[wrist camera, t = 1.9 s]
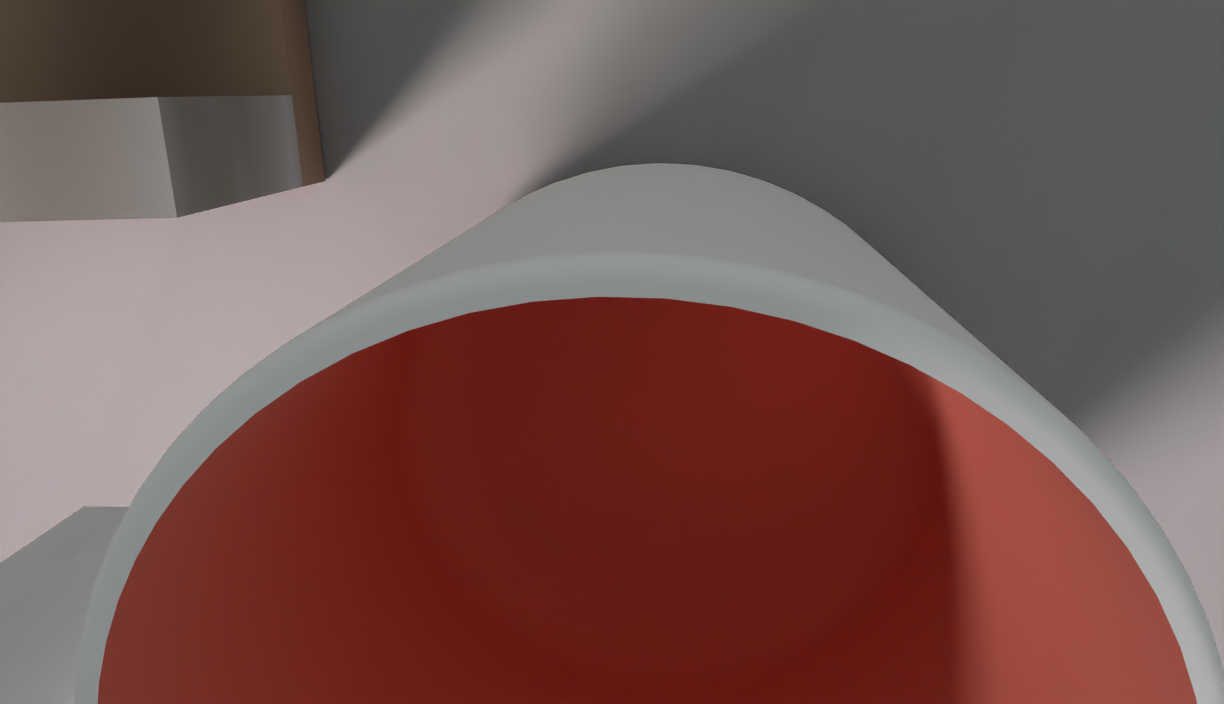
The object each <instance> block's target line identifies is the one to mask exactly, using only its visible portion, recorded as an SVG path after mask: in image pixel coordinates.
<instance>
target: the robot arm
mask: <svg viewBox="0 0 1224 704" xmlns="http://www.w3.org/2000/svg"><path fill="white" fill-rule="evenodd" d="M128 508H129V507H86V506H84V507H83V508H81V509H80V510H78V511H77V512H75V513H74V514H72V515H71V516H69V517H68V518H66V519H65V520H63V521H62V522H60V523H59V524H57V525H56V526H55V527H53V528H52V529H50V530H49V531H47V532H46V533H44V534H43V535H41V536H40V537H38V538H37V539H35V540H34V541H32V542H31V543H29V544H28V545H26V546H25V547H23V548H22V549H21V550H19V551H18V552H16V553H15V554H13V555H12V556H10V557H9V558H7V559H6V560H4V561H3V562H1V563H0V704H74V692H75V673H76V666H77V659H78V652H79V645H80V637H81V633H82V629H83V625H84V621H85V617H86V613H87V609H88V606H89V602H90V598H91V594H92V590H93V586H94V583H95V580H96V578H97V575H98V573H99V570H100V568H101V565H102V563H103V560H104V558H105V555H106V553H107V550H108V548H109V545H110V543H111V540H112V538H113V536H114V534H115V532H116V530H117V528H118V527H119V525H120V523H121V521H122V519H123V518H124V516H125V514H126V512H127V510H128Z"/></svg>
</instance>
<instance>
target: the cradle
mask: <svg viewBox="0 0 1224 704" xmlns="http://www.w3.org/2000/svg"><path fill="white" fill-rule="evenodd" d="M323 181H325V173H324V164H323V156H322V147H321V139H320V130H319V121H318V113H317V104H316V96H315V87H314V79H313V70H312V62H311V53H310V45H309V36H308V28H307V19H306V11H305V2H304V0H0V222H13V221H55V220H97V219H139V218H177V217H181V216H186V215H190V214H194V213H198V212H202V211H206V210H210V209H214V208H218V207H222V206H226V205H230V204H234V203H238V202H242V201H246V200H250V199H254V198H258V197H262V196H266V195H270V194H274V193H278V192H282V191H286V190H290V189H294V188H298V187H303V186H307V185H311V184H315V183H319V182H323Z"/></svg>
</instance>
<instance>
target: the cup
mask: <svg viewBox="0 0 1224 704" xmlns="http://www.w3.org/2000/svg"><path fill="white" fill-rule="evenodd" d="M74 704H1224V669H1223V666H1222V663H1221V660H1220V656H1219V653H1218V650H1217V647H1216V643H1215V640H1214V637H1213V634H1212V631H1211V627H1210V624H1209V621H1208V619H1207V617H1206V614H1205V612H1204V610H1203V607H1202V605H1201V603H1200V601H1199V598H1198V596H1197V594H1196V591H1195V589H1194V587H1193V584H1192V582H1191V580H1190V578H1189V575H1188V573H1187V572H1186V570H1185V568H1184V566H1183V565H1182V563H1181V561H1180V559H1179V558H1178V556H1177V554H1176V552H1175V550H1174V549H1173V547H1172V545H1171V543H1170V542H1169V540H1168V538H1167V536H1166V535H1165V533H1164V531H1163V530H1162V528H1161V527H1160V525H1159V524H1158V522H1157V521H1156V519H1155V518H1154V516H1153V515H1152V513H1151V512H1150V511H1149V509H1148V508H1147V507H1146V505H1145V504H1144V502H1143V501H1142V500H1141V498H1140V497H1139V496H1138V494H1137V493H1136V491H1135V490H1134V489H1133V487H1132V486H1131V485H1130V484H1129V483H1128V481H1127V480H1126V479H1125V478H1124V477H1123V475H1122V474H1121V473H1120V472H1119V470H1118V469H1117V468H1116V467H1115V466H1114V465H1113V464H1112V462H1111V461H1110V460H1109V459H1108V458H1107V457H1106V456H1105V455H1104V454H1103V453H1102V452H1101V451H1100V449H1099V448H1098V447H1097V446H1096V445H1095V444H1094V443H1093V442H1092V441H1091V440H1090V439H1089V438H1088V437H1087V436H1086V435H1085V434H1084V433H1083V432H1082V431H1081V430H1080V429H1079V428H1078V427H1077V426H1076V425H1075V424H1074V423H1073V422H1071V421H1070V420H1069V419H1068V418H1067V417H1066V416H1064V415H1063V414H1062V413H1061V412H1060V411H1059V410H1058V409H1056V408H1055V407H1054V406H1053V405H1052V404H1051V403H1050V402H1048V401H1047V400H1046V399H1045V398H1044V397H1043V396H1042V395H1040V394H1039V393H1038V392H1037V391H1036V390H1035V389H1033V388H1032V387H1031V386H1030V385H1029V384H1028V383H1027V382H1025V381H1024V380H1023V379H1022V378H1021V377H1020V376H1019V375H1017V374H1016V373H1015V372H1014V371H1013V370H1012V369H1011V368H1009V367H1008V366H1007V365H1006V364H1005V363H1004V362H1003V361H1001V360H1000V359H999V358H998V357H997V356H996V355H994V354H993V353H992V352H991V351H990V350H989V349H988V348H986V347H985V346H984V345H983V344H982V343H981V342H980V341H978V340H977V339H976V338H975V337H974V336H973V335H972V334H970V333H969V332H968V331H967V330H966V329H965V328H964V327H962V326H961V325H960V324H959V323H958V322H957V321H955V320H954V319H953V318H952V317H951V316H950V315H949V314H947V313H946V312H945V311H944V310H943V309H942V308H941V307H939V306H938V305H937V304H936V303H935V302H934V301H933V300H931V299H930V298H929V297H928V296H927V295H926V294H925V293H923V292H922V291H921V290H920V289H919V288H918V287H917V286H915V285H914V284H913V283H912V282H911V281H910V280H909V279H908V278H906V277H905V276H904V275H903V274H902V273H901V272H900V271H898V270H897V269H896V268H895V267H894V266H893V265H892V264H891V263H889V262H888V261H887V260H886V259H885V258H884V257H883V256H882V255H880V254H879V253H878V252H877V251H876V250H875V249H874V248H872V247H871V246H870V245H869V244H868V243H867V242H866V241H864V240H863V239H862V238H861V237H860V236H858V235H857V234H856V233H855V232H854V231H852V230H851V229H850V228H849V227H848V226H847V225H845V224H844V223H842V222H841V221H839V220H838V219H836V218H835V217H834V216H832V215H831V214H829V213H828V212H826V211H825V210H823V209H822V208H820V207H818V206H816V205H815V204H813V203H811V202H809V201H807V200H806V199H804V198H802V197H800V196H798V195H796V194H794V193H792V192H790V191H787V190H785V189H783V188H780V187H778V186H776V185H773V184H771V183H768V182H766V181H763V180H760V179H757V178H753V177H750V176H747V175H743V174H740V173H736V172H732V171H728V170H722V169H717V168H711V167H705V166H698V165H688V164H667V163H653V164H638V165H625V166H618V167H613V168H608V169H602V170H597V171H592V172H587V173H584V174H581V175H578V176H574V177H571V178H568V179H565V180H561V181H558V182H555V183H553V184H551V185H548V186H546V187H544V188H541V189H539V190H537V191H534V192H532V193H530V194H528V195H526V196H524V197H522V198H520V199H519V200H517V201H515V202H513V203H512V204H510V205H508V206H506V207H505V208H503V209H501V210H499V211H498V212H496V213H495V214H493V215H491V216H490V217H488V218H487V219H485V220H483V221H482V222H480V223H479V224H477V225H475V226H474V227H472V228H471V229H469V230H467V231H466V232H464V233H463V234H461V235H459V236H458V237H456V238H455V239H453V240H451V241H450V242H448V243H446V244H445V245H443V246H442V247H440V248H438V249H437V250H435V251H434V252H432V253H430V254H429V255H427V256H426V257H424V258H422V259H421V260H419V261H418V262H416V263H414V264H413V265H411V266H410V267H408V268H406V269H405V270H403V271H402V272H400V273H398V274H397V275H395V276H394V277H392V278H390V279H389V280H387V281H385V282H384V283H382V284H381V285H379V286H377V287H376V288H374V289H373V290H371V291H369V292H368V293H366V294H365V295H363V296H361V297H360V298H358V299H357V300H355V301H353V302H352V303H350V304H349V305H347V306H345V307H344V308H342V309H341V310H339V311H337V312H336V313H334V314H332V315H331V316H329V317H328V318H326V319H324V320H323V321H321V322H320V323H318V324H316V325H315V326H313V327H312V328H310V329H308V330H307V331H305V332H304V333H302V334H300V335H299V336H297V337H296V338H294V339H292V340H291V341H289V342H288V343H286V344H285V345H283V346H282V347H280V348H279V349H277V350H276V351H275V352H273V353H272V354H270V355H269V356H267V357H266V358H264V359H263V360H262V361H260V362H259V363H258V364H256V365H255V366H254V367H252V368H251V369H250V370H248V371H247V372H246V373H244V374H243V375H242V376H240V377H239V378H238V379H237V380H236V381H235V382H233V383H232V384H231V385H230V386H229V387H228V388H227V389H225V390H224V391H223V392H222V393H221V394H220V395H218V396H217V397H216V398H215V399H214V400H213V401H212V402H211V403H210V404H209V405H208V406H207V407H206V408H205V409H204V410H203V411H202V412H201V413H200V414H199V415H198V416H197V417H196V418H195V419H194V420H193V421H192V422H191V424H190V425H189V426H188V427H187V428H186V429H185V430H184V431H183V432H182V433H181V434H180V436H179V437H178V438H177V439H176V440H175V441H174V442H173V443H172V445H171V446H170V447H169V449H168V450H167V451H166V453H165V454H164V455H163V457H162V458H161V460H160V461H159V462H158V464H157V465H156V466H155V468H154V469H153V471H152V472H151V473H150V475H149V476H148V477H147V479H146V480H145V482H144V483H143V484H142V486H141V487H140V489H139V490H138V492H137V494H136V496H135V498H134V499H133V501H132V503H131V505H130V507H129V508H128V510H127V512H126V514H125V516H124V518H123V519H122V521H121V523H120V525H119V527H118V528H117V530H116V532H115V534H114V536H113V538H112V540H111V543H110V545H109V548H108V550H107V553H106V555H105V558H104V560H103V563H102V565H101V568H100V570H99V573H98V575H97V578H96V580H95V583H94V586H93V590H92V594H91V598H90V602H89V606H88V609H87V613H86V617H85V621H84V625H83V629H82V633H81V637H80V645H79V652H78V659H77V666H76V673H75V692H74Z"/></svg>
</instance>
